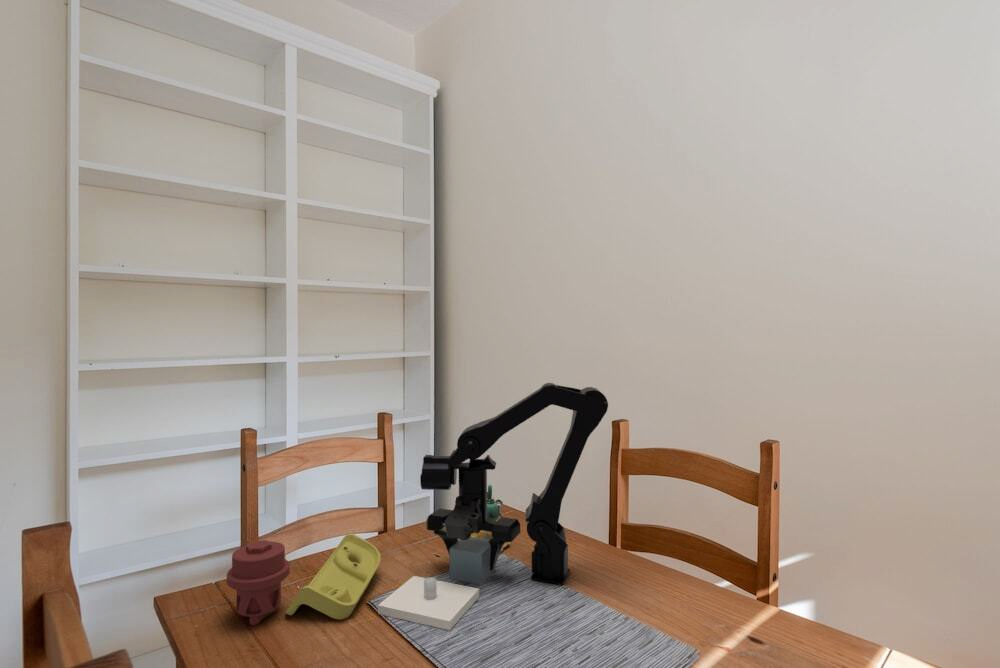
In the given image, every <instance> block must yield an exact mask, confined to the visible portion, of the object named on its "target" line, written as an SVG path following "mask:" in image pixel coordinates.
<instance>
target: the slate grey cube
mask: <svg viewBox="0 0 1000 668" xmlns="http://www.w3.org/2000/svg"><path fill="white" fill-rule="evenodd" d="M489 541H490V540H487V539H481V538H475V537H470V538H469V539H467V540H461V539H458V542H457V543H456V544H454V545H453V546H452V547H451V548H450V556H449V579H451V580H455V581H460V582H466V583H471V584H477V585H483V584H484V583H485V582H486V581H487V579H488V578H489V577H490V576H491V575H492V574H493V573H494V572H495V571H496V566H495V567H494V569H493V571H491V570H490V551H491V546H490V544H489Z"/></svg>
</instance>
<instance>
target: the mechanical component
mask: <svg viewBox="0 0 1000 668" xmlns="http://www.w3.org/2000/svg"><path fill="white" fill-rule="evenodd" d="M285 547H286V546H285V545H284V544H283V543H280V542H278V541H270V540H265V539H264V540H263V539H262V540H260V539H259V540H256V541H252V542H250V543H248V544H246V545H244V546H241V547H239V548H237V549H236V550H235V551H234V552H233V553H232V554H231V568H230V569H229V570H228V571H227V573H226V585H227V586H228V587H230V588H231V589H233V590H235V591H236V613H237V614H239V615H240V616H243V617H247V618H248V617H249V625H252V626H255V625H258V624H259V623H260V622H261V621H262V620H264V618H266V617H267V616H269V615H271V614H273V613H275V612H278V611H279V608H280V605H281V602H282V595H281V594H282V587H281V586H282V585H281V583H282V582H284V580H286V578H287V577H288V576H289V575H290V573H291V564H290V562H289V560H287V559H286V556H285V555H286V554H285V552H286V551H285V549H286V548H285Z"/></svg>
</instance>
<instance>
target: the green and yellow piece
mask: <svg viewBox="0 0 1000 668" xmlns="http://www.w3.org/2000/svg"><path fill="white" fill-rule="evenodd" d="M487 492H489V498H487V512H489V518H487V521H491V522H497V521H498V520H499V519H500V518H501V517H503V516H502V514H501V513H500V512H501V510H502V508H503V506H502V505H503V501H502V500H501V499H496V502H495V498H494V497H493V486H492V485H491V484H488V485H487ZM492 497H493V498H492ZM470 537H475V538H481V539H487V540H491V539H492V538H493V537H492V532H488V531H482V530H480V532H479V533H473V534H471V536H470ZM509 545H511V542H506V543H505V544H504V545H503V547H502V549H501V551H500V554H501V553H502V551H504V548H506V547H507V546H509Z"/></svg>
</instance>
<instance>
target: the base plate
mask: <svg viewBox="0 0 1000 668" xmlns="http://www.w3.org/2000/svg"><path fill="white" fill-rule="evenodd" d="M479 598H480V588H477V587H472V586H468V585H462V584H457V583H451V582H447V581H442V580H437V578H436V577H433V576H432V577H431V576H430V577H422V576H417V575H413V576H412V577H410V578H409V580H406V582H404V583H403V584H402V585H401V586H399V587H398V588H397V589H396V590H395V591H394V592H392V593H391V594H390V595H389V596H387V597H385V599H384V600H383V601H381V602H380V603H379V604H378V605H377V614H378V615H382V616H386V617H391V618H395V619H400V620H404V621H407V622H412V623H416V624H421V625H425V626H429V627H434V628H438V629H442V630H447V631H451V630H452V629H453V628H454V626H455V625H456V624H457V623H458V622H459V621H460V620H461V618H462V617H463V616H464V615H465V614H466V613H467V611H469V609H470V608H471V607H472V606H473V605H474V604H475V602H476V601H477V600H478V599H479Z"/></svg>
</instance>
